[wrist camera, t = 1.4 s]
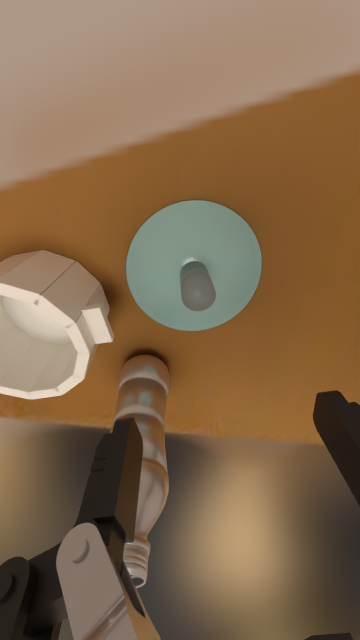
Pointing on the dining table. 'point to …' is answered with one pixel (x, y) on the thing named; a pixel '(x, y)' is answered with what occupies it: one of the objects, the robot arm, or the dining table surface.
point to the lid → (193, 265)
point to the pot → (48, 324)
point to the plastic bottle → (145, 449)
